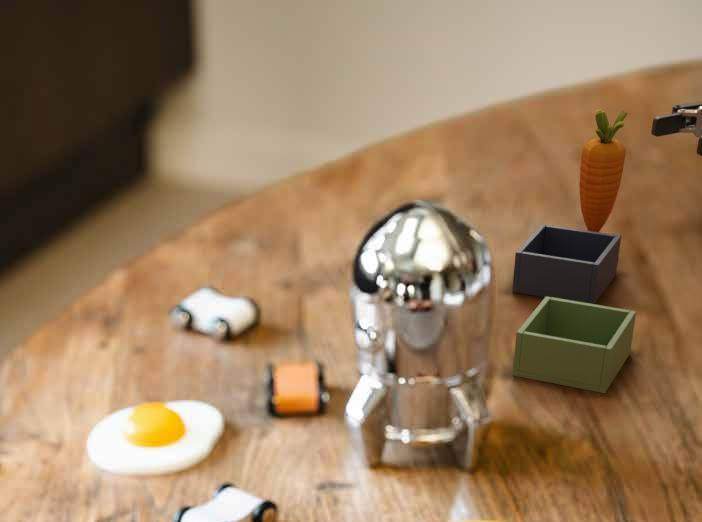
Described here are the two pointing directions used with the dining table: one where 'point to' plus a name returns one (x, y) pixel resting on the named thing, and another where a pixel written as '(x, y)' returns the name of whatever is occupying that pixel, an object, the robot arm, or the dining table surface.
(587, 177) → the carrot
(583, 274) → the blue bin
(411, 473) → the dining table surface
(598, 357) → the green bin
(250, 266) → the dining table surface
